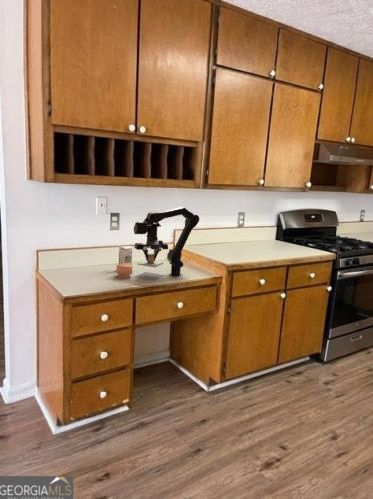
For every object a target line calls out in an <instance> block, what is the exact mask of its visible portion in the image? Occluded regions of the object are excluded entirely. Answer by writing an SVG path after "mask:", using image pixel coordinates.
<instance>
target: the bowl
mask: <svg viewBox="0 0 373 499" xmlns="http://www.w3.org/2000/svg"><path fill="white" fill-rule="evenodd" d="M115 272H116V274H117V275H118V277H119V278H123V279H126V278H127V279H128V278H130V277H131V275H132V274H133V264H126V263H121V264H119V263H117V264H116V271H115Z"/></svg>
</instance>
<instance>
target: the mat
mask: <svg viewBox="0 0 373 499" xmlns="http://www.w3.org/2000/svg"><path fill="white" fill-rule="evenodd" d="M164 276H165V275H164V274H160V273H153V272H148V271H144V272H142V273H141V274H138V275H136V276H134V277H135V278H139V279H143V280H144V279H146V280H150V281H157V280H159V279H161V278H163V277H164Z"/></svg>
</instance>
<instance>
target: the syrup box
mask: <svg viewBox="0 0 373 499" xmlns="http://www.w3.org/2000/svg"><path fill="white" fill-rule="evenodd" d="M118 249H119V250H118V264H121V263H126V264H131V265H133V262H132V261H133V247H132V246H129V245H124V246H123V245H122V246H119V248H118Z"/></svg>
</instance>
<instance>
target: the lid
mask: <svg viewBox="0 0 373 499" xmlns="http://www.w3.org/2000/svg"><path fill="white" fill-rule="evenodd" d="M163 264H164V261H163V262H162V261H158V260H157V261H156V260H155V261H154V253H148V261H146V259H145V260H142V261H140V262H137V265H138V266H143V267H149V268H157V267H159V266H162V265H163Z"/></svg>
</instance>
